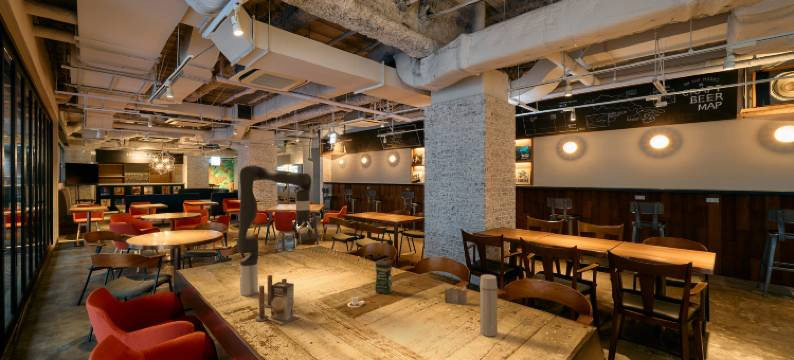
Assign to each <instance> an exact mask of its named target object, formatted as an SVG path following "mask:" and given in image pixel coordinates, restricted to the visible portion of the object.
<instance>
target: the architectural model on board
mask: <svg viewBox="0 0 794 360" xmlns="http://www.w3.org/2000/svg"><path fill="white" fill-rule="evenodd" d="M467 291H468V290H467V285H462V286H461V288H453V287H449V288H447V287H445V288H444V303H447V304H455V305H456V304H458V305H467V303H468V301H467V299H468V298H467V295H468V294H467V293H468V292H467Z"/></svg>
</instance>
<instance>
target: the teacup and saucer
mask: <svg viewBox="0 0 794 360" xmlns="http://www.w3.org/2000/svg"><path fill="white" fill-rule="evenodd" d="M358 298H359V297H358V296H352V297H351V298H349V302H348V303H347V307H349V308H359V307H361V306H363V305H365V301H364V300H360V301H358ZM350 304H352V305H350Z"/></svg>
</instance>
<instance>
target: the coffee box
mask: <svg viewBox="0 0 794 360" xmlns="http://www.w3.org/2000/svg"><path fill="white" fill-rule="evenodd" d="M294 285H295V284H294V283H290V282H287V283H284V282H282V281H278V282H275V283H272V285H271V308H270V317H271V319H278V320H285V321H287V320H288V319H290V318H291V317H293V315H294V307H295V306H294V304H295V303H294V302H295V301H294V298H295V297H294V296H295V295H294V294H295V293H294V291H295V290H294V288H295V287H294Z"/></svg>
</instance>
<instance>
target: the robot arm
mask: <svg viewBox="0 0 794 360" xmlns="http://www.w3.org/2000/svg"><path fill="white" fill-rule="evenodd" d="M239 171H240V172H239V185H240V187H239V188H240V200H239V203H240V204H239V225H238V227H239V228H238V232H237V233H238V234H237V239H236V249H237V252H238V253H239V254H240V255H241V254H242V255H244V254H247V255H246V256H245V257H243V258H241V260H240V277H239V287H240V288H239V289H240V291H239V292H240V295H241V296H244V297H245V296H246V297H248V296H254V295H257V294H259V282H258V281H259V278H258V275H259V274H258V273H259V271H258V270H259V269H258V260H259V239H258V237H257V236H254V235H251V236H247V235H248V234H247V233H248V231H249V229H250V227H251V226H252V224H253V223H254V221H255V219H256V218H257V215H258V202H257V199H256V197H255V195H254V182H256V181H271V182H273V183H274V182H275V183H277V184H283V185H291V186H292V185H293V186H296V187H297V186H298V187H299V189H298V190H297V191H296V195H295V196H296V198H295V199H296V203H295V215H296V216H295V217H296V220H291V232H293V233H294V238H295V240H299V239H300V231H301V230H302V228H306V230H307V238H311V237H312V235H313V234H312V233H313V230H315V218H312V217H311V203H310V202H311V201H310V191H311V187H312V178H311V175H310V174H309V173H307V172H302V173H301V172H292V171H288V170H287V171H286V170H278V169H269V168H265V167H262V166H259V165H254V164H251V165H245V166H243V167H242V168H241V169H240V170H239Z"/></svg>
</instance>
